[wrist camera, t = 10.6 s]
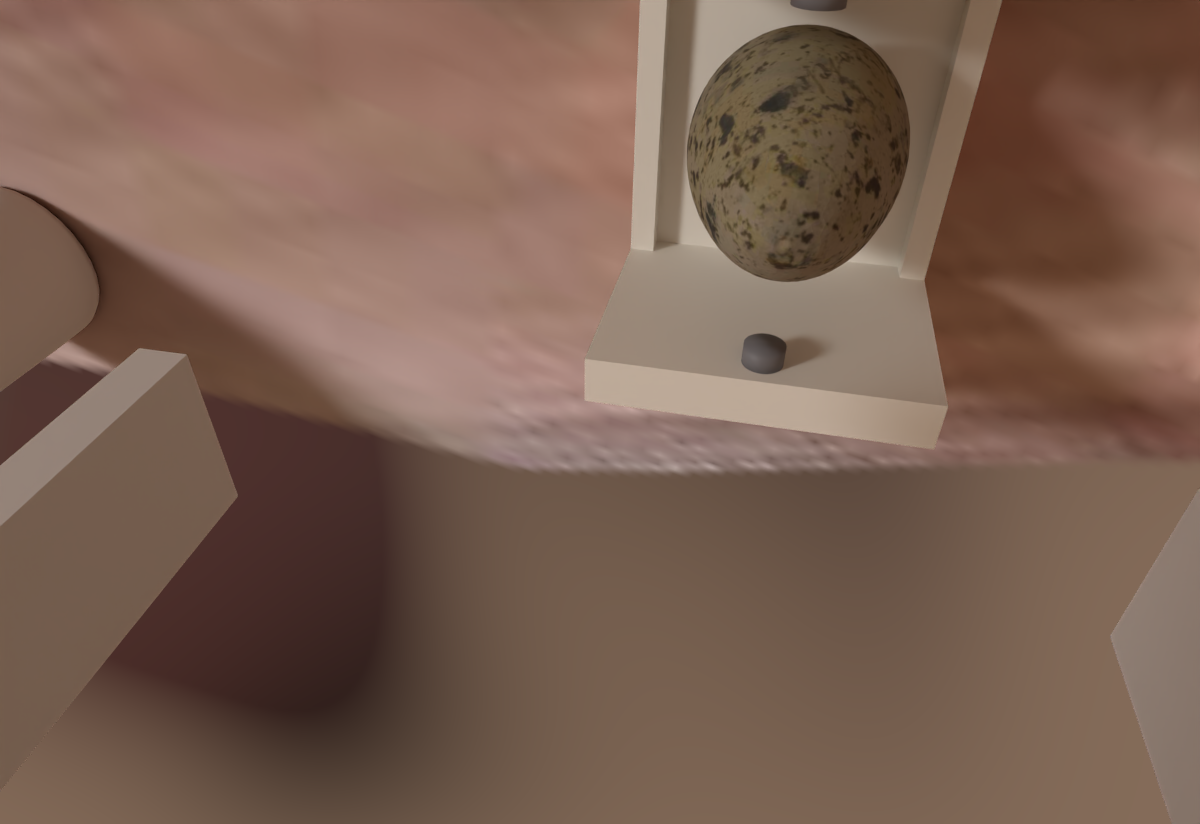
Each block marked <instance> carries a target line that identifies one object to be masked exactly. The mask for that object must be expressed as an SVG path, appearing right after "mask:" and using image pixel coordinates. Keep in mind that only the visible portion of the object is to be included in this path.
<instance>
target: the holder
mask: <svg viewBox="0 0 1200 824" xmlns="http://www.w3.org/2000/svg"><path fill="white" fill-rule="evenodd" d="M1001 3H1002V0H640V16H639V43H638V70H637V97H636V124H635V151H634V178H633V205H632V232H631V250H630V252H629V254H628V257H627V259H626V261H625V264H624V266H623V269H622V271H621V273H620V276H619V278H618V281H617V283H616V285H615V288H614V290H613V293H612V295H611V297H610V300H609V302H608V304H607V307H606V309H605V312H604V314H603V316H602V319H601V321H600V324H599V326H598V328H597V331H596V333H595V336H594V338H593V340H592V343H591V345H590V347H589V350H588V352H587V355H586V357H585V401H590V402H597V403H605V404H612V405H619V406H626V407H633V408H640V409H648V410H655V411H662V412H669V413H676V414H683V415H691V416H698V417H705V418H712V419H719V420H726V421H733V422H741V423H748V424H755V425H762V426H769V427H776V428H784V429H791V430H798V431H805V432H812V433H819V434H827V435H834V436H841V437H848V438H855V439H862V440H869V441H877V442H884V443H891V444H898V445H905V446H912V447H920V448H927V449H934V448H935V445H936V442H937V439H938V436H939V433H940V430H941V427H942V424H943V421H944V418H945V415H946V412H947V409H948V403H947V397H946V392H945V387H944V382H943V376H942V371H941V366H940V360H939V355H938V350H937V345H936V339H935V334H934V329H933V324H932V318H931V313H930V308H929V303H928V297H927V292H926V287H925V281H924V280H925V276H926V273H927V269H928V265H929V262H930V258H931V255H932V251H933V247H934V244H935V240H936V237H937V233H938V229H939V226H940V222H941V219H942V215H943V211H944V208H945V204H946V201H947V197H948V193H949V190H950V186H951V183H952V179H953V176H954V172H955V168H956V165H957V161H958V158H959V154H960V150H961V147H962V143H963V140H964V136H965V132H966V129H967V125H968V122H969V118H970V114H971V111H972V107H973V104H974V100H975V96H976V93H977V89H978V86H979V82H980V79H981V75H982V71H983V68H984V64H985V61H986V57H987V53H988V50H989V46H990V43H991V39H992V35H993V32H994V28H995V25H996V21H997V17H998V14H999V10H1000V7H1001ZM806 24H810V25H822V26H827V27H832V28H835V29H838V30H841V31H844V32H847V33H849V34H851V35H853V36H855V37H857V38H858V39H860V40H861V41H863V42H865V43H866V44H867V45H869V46H870V47H871V48H872V49H873V50H875V51H876V52H877V53H878V54H879V55H880V56H881V58H882V59H883V60H884V61H885V62H886V64H887V65H888V66H889V68H890V69H891V71H892V72H893V74H894V76H895V77H896V79H897V81H898V83H899V85H900V87H901V90H902V93H903V95H904V98H905V102H906V105H907V110H908V116H909V123H910V148H909V158H908V164H907V169H906V173H905V176H904V180H903V183H902V186H901V189H900V191H899V194H898V196H897V198H896V200H895V203H894V205H893V207H892V209H891V210H890V212H889V214H888V215H887V217H886V219H885V220H884V222H883V223H882V224H881V226H880V227H879V229H878V230H877V231H876V233H875V234H874V235H873V237H872V238H871V239H870V240H869V241H868V243H867V244H866V245H865V246H864V247H863V248H862V249H861V250H860V251H859V252H858V253H857V254H856V255H855V256H853V257H852V258H851V259H849V260H848V261H847V262H845V263H844V264H842V265H841V266H839V267H838V268H836V269H834V270H832V271H830V272H828V273H826V274H824V275H821V276H819V277H816V278H812V279H808V280H804V281H798V282H779V281H772V280H767V279H764V278H760V277H757V276H755V275H753V274H751V273H749V272H747V271H745V270H743V269H741V268H740V267H739V266H737V265H736V264H735V263H733V262H732V261H731V260H730V259H729V258H727V256H726V255H725V254H724V253H723V252H722V251H721V250H720V249H719V248H718V247H717V245H716V244H715V242H714V241H713V240H712V238H711V237H710V235H709V234H708V232H707V230H706V229H705V227H704V225H703V223H702V221H701V219H700V217H699V214H698V212H697V209H696V206H695V204H694V201H693V197H692V194H691V190H690V185H689V179H688V172H687V142H688V135H689V129H690V124H691V120H692V117H693V114H694V111H695V108H696V105H697V103H698V100H699V98H700V96H701V94H702V92H703V90H704V88H705V86H706V85H707V83H708V81H709V80H710V78H711V77H712V76H713V74H714V73H715V72H716V70H717V69H718V68H719V67H720V66H721V64H722V63H723V62H724V61H725V60H726V59H727V58H728V57H729V56H730V55H732V54H733V53H734V52H735V51H736V50H738V49H739V48H740V47H741V46H743V45H744V44H746V43H747V42H749V41H750V40H752V39H754V38H756V37H758V36H760V35H762V34H764V33H767V32H769V31H772V30H775V29H779V28H782V27H787V26H792V25H806Z"/></svg>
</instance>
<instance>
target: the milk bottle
mask: <svg viewBox="0 0 1200 824" xmlns="http://www.w3.org/2000/svg"><path fill="white" fill-rule="evenodd" d="M99 291H100V289H99V284H98V279H97V275H96V272H95V270H94V267H93V265H92V262H91V260H90V259H89V257H88V255H87V253H86V252H85V250H84V248H83V247H82V245H81V244H80V243H79V241H78V240H77V239H76V237H75V236H74V235H73V233H72V232H71V231H70V230H69V229H68V228H67V227H66V226H65V225H64V224H63V223H62V222H61V221H60V220H59V219H58V218H57V217H55V216H54V215H53V214H52V213H51V212H49V211H48V210H47V209H46V208H44V207H43V206H41V205H40V204H38V203H37V202H35V201H34V200H32V199H31V198H28V197H26V196H24V195H22V194H20V193H18V192H16V191H13V190H10V189H7V188H4V187H1V186H0V391H2V390H3V389H4V388H5V387H7V386H8V385H10V384H11V383H12V382H14V381H15V380H16V379H18V378H19V377H20V376H22V375H23V374H24V373H26V372H27V371H28V370H30V369H31V368H33V367H34V366H35V365H37V364H38V363H39V362H41V361H42V360H43V359H45V358H46V357H47V356H49V355H50V354H51V353H53V352H54V351H55V350H57V349H58V348H59V347H61V346H62V345H63V344H65V343H66V342H67V341H69V340H70V339H71V338H73V337H74V336H75V335H76V334H78V333H79V332H80V331H81V330H82V329H84V328H85V327H86V326H87V325H88V324H89V323H90V322H91V320H92V319H93V317H94V315H95V312H96V309H97V306H98V303H99Z"/></svg>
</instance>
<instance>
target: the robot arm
mask: <svg viewBox="0 0 1200 824" xmlns="http://www.w3.org/2000/svg"><path fill="white" fill-rule="evenodd" d="M237 496H238V495H237V492H236V489H235V486H234V484H233V481H232V478H231V475H230V473H229V470H228V467H227V464H226V461H225V459H224V456H223V453H222V451H221V448H220V445H219V442H218V439H217V437H216V434H215V431H214V428H213V425H212V423H211V420H210V417H209V414H208V411H207V409H206V406H205V403H204V400H203V398H202V395H201V392H200V389H199V386H198V384H197V381H196V378H195V375H194V373H193V370H192V367H191V364H190V361H189V359H188V356H187V354H180V353H172V352H165V351H157V350H150V349H142V348H139V349H137V350H136V351H135V352H134V353H133V354H132V355H130V356H129V357H128V358H127V359H126V360H124V361H123V362H122V363H121V364H120V365H119V366H117V367H116V368H115V369H114V370H113V371H111V372H110V373H109V374H108V375H107V376H106V377H104V378H103V379H102V380H101V381H100V382H98V384H96V385H95V386H94V387H93V388H91V389H90V390H89V391H88V392H87V393H85V394H84V395H83V396H82V397H81V398H80V399H78V400H77V401H76V402H75V403H74V404H73V405H71V406H70V407H69V408H68V409H67V410H65V411H64V412H63V413H62V414H61V415H60V416H58V417H57V418H56V419H55V420H54V421H52V422H51V423H50V424H49V425H48V426H47V427H45V428H44V429H43V430H42V431H41V432H39V434H37V435H36V436H35V437H34V438H32V439H31V440H30V441H29V442H28V443H27V444H25V445H24V446H23V447H22V448H21V449H20V450H18V451H17V452H16V453H15V454H13V455H12V456H11V457H10V458H9V459H8V460H6V461H5V462H4V463H3V464H2V465H0V791H1V790H2V788H3V787H4V786H5V784H6V783H7V782H8V781H9V780H10V778H11V777H12V776H13V775H14V773H15V772H16V771H17V770H18V768H19V767H20V766H21V765H22V763H23V762H24V761H25V760H26V759H27V757H28V756H29V755H30V754H31V752H32V751H33V750H34V749H35V747H36V746H37V745H38V744H39V742H40V741H41V740H42V739H43V737H44V736H45V735H46V734H47V733H48V731H49V730H50V729H51V728H52V726H53V725H54V724H55V723H56V721H57V720H58V719H59V717H60V716H61V715H62V714H63V712H64V711H65V710H66V709H67V708H68V706H69V705H70V704H71V703H72V702H73V700H74V699H75V698H76V697H77V695H78V694H79V693H80V692H81V690H82V689H83V688H84V687H85V685H86V684H87V683H88V682H89V680H90V679H91V678H92V677H93V675H94V674H95V673H96V672H97V670H98V669H99V668H100V667H101V666H102V664H103V663H104V662H105V661H106V659H107V658H108V657H109V656H110V654H111V653H112V652H113V651H114V649H115V648H116V647H117V646H118V644H119V643H120V642H121V641H122V639H123V638H124V637H125V636H126V634H127V633H128V632H129V631H130V629H131V628H132V627H133V626H134V625H135V623H136V622H137V621H138V620H139V618H140V617H141V616H142V615H143V613H144V612H145V611H146V610H147V608H148V607H149V606H150V605H151V603H152V602H153V601H154V600H155V598H156V597H157V596H158V595H159V593H160V592H161V591H162V590H163V589H164V587H165V586H166V585H167V583H168V582H169V581H170V580H171V579H172V577H173V576H174V575H175V574H176V572H177V571H178V570H179V569H180V567H181V566H182V565H183V564H184V562H185V561H186V560H187V559H188V557H189V556H190V555H191V553H192V552H193V551H194V550H195V549H196V548H197V546H198V545H199V543H200V542H201V541H202V540H203V539H204V538H205V536H206V535H207V534H208V533H209V531H210V530H211V528H213V526H214V525H215V524H216V523H217V521H218V520H219V519H220V518H221V516H222V515H223V514H224V513H225V512H226V510H227V509H228V508H229V506H230V505H231V504H232V503H233V502H234V500H235V499H236V498H237ZM1110 638H1111V641H1112V644H1113V647H1114V650H1115V653H1116V656H1117V659H1118V662H1119V665H1120V668H1121V671H1122V674H1123V677H1124V680H1125V683H1126V686H1127V689H1128V692H1129V696H1130V698H1131V701H1132V704H1133V708H1134V711H1135V714H1136V717H1137V720H1138V723H1139V726H1140V729H1141V732H1142V735H1143V738H1144V741H1145V744H1146V747H1147V750H1148V753H1149V756H1150V759H1151V763H1152V766H1153V768H1154V772H1155V775H1156V778H1157V781H1158V784H1159V787H1160V790H1161V793H1162V795H1163V799H1164V802H1165V805H1166V808H1167V811H1168V814H1169V817H1170V820H1171V823H1172V824H1200V488H1199V489H1198V491H1197V492H1196V494H1195V496H1194V497H1193V499H1192V501H1191V502H1190V504H1189V506H1188V507H1187V509H1186V511H1185V513H1184V514H1183V516H1182V517H1181V519H1180V521H1179V522H1178V524H1177V526H1176V527H1175V529H1174V531H1173V532H1172V534H1171V536H1170V537H1169V539H1168V541H1167V542H1166V544H1165V546H1164V547H1163V549H1162V551H1161V553H1160V554H1159V556H1158V557H1157V559H1156V561H1155V562H1154V564H1153V566H1152V567H1151V569H1150V571H1149V572H1148V574H1147V576H1146V577H1145V579H1144V581H1143V582H1142V584H1141V586H1140V587H1139V589H1138V591H1137V592H1136V594H1135V596H1134V597H1133V599H1132V601H1131V602H1130V604H1129V606H1128V607H1127V609H1126V611H1125V612H1124V614H1123V616H1122V617H1121V619H1120V621H1119V623H1118V624H1117V626H1116V627H1115V629H1114V631H1113V632H1112V634H1111V636H1110Z"/></svg>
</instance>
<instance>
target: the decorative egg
mask: <svg viewBox="0 0 1200 824" xmlns="http://www.w3.org/2000/svg"><path fill="white" fill-rule="evenodd" d="M909 148H910V123H909V116H908V110H907V105H906V102H905V98H904V95H903V93H902V90H901V87H900V85H899V83H898V81H897V79H896V77H895V76H894V74H893V72H892V71H891V69H890V68H889V66H888V65H887V64H886V62H885V61H884V60H883V59H882V58H881V56H880V55H879V54H878V53H877V52H876V51H875V50H873V49H872V48H871V47H870V46H869V45H867V44H866V43H865V42H863V41H861V40H860V39H858V38H857V37H855V36H853V35H851V34H849V33H847V32H844V31H841V30H838V29H835V28H832V27H827V26H822V25H810V24H806V25H792V26H787V27H782V28H779V29H775V30H772V31H769V32H767V33H764V34H762V35H760V36H758V37H756V38H754V39H752V40H750V41H749V42H747V43H746V44H744V45H743V46H741V47H740V48H739V49H738V50H736V51H735V52H734V53H733V54H732V55H730V56H729V57H728V58H727V59H726V60H725V61H724V62H723V63H722V64H721V66H720V67H719V68H718V69H717V70H716V72H715V73H714V74H713V76H712V77H711V78H710V80H709V81H708V83H707V85H706V86H705V88H704V90H703V92H702V94H701V96H700V98H699V100H698V103H697V105H696V108H695V111H694V114H693V117H692V120H691V124H690V129H689V135H688V142H687V172H688V179H689V185H690V190H691V194H692V197H693V201H694V204H695V206H696V209H697V212H698V214H699V217H700V219H701V221H702V223H703V225H704V227H705V229H706V230H707V232H708V234H709V235H710V237H711V238H712V240H713V241H714V242H715V244H716V245H717V247H718V248H719V249H720V250H721V251H722V252H723V253H724V254H725V255H726V256H727V258H729V259H730V260H731V261H732V262H733V263H735V264H736V265H737V266H739V267H740V268H741V269H743V270H745V271H747V272H749V273H751V274H753V275H755V276H757V277H760V278H764V279H767V280H772V281H779V282H798V281H804V280H808V279H812V278H816V277H819V276H821V275H824V274H826V273H828V272H830V271H832V270H834V269H836V268H838V267H839V266H841V265H842V264H844V263H845V262H847V261H848V260H849V259H851V258H852V257H853V256H855V255H856V254H857V253H858V252H859V251H860V250H861V249H862V248H863V247H864V246H865V245H866V244H867V243H868V241H869V240H870V239H871V238H872V237H873V235H874V234H875V233H876V231H877V230H878V229H879V227H880V226H881V224H882V223H883V222H884V220H885V219H886V217H887V215H888V214H889V212H890V210H891V209H892V207H893V205H894V203H895V200H896V198H897V196H898V194H899V191H900V189H901V186H902V183H903V180H904V176H905V173H906V169H907V164H908V158H909Z"/></svg>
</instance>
